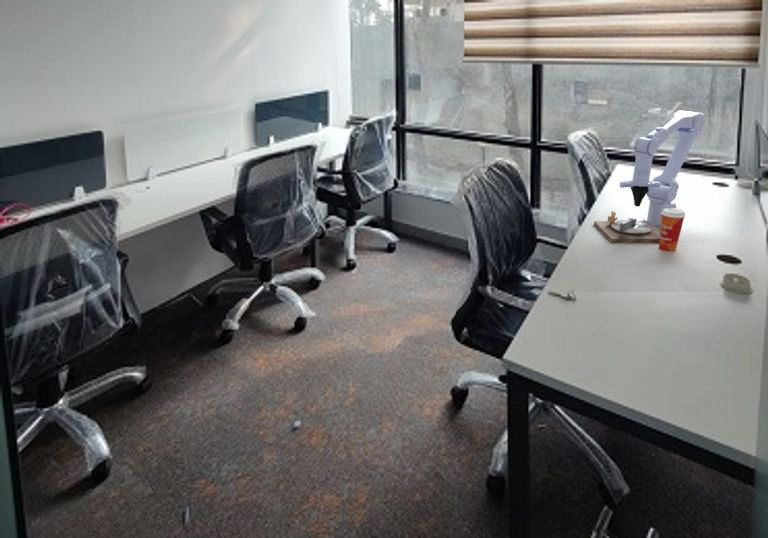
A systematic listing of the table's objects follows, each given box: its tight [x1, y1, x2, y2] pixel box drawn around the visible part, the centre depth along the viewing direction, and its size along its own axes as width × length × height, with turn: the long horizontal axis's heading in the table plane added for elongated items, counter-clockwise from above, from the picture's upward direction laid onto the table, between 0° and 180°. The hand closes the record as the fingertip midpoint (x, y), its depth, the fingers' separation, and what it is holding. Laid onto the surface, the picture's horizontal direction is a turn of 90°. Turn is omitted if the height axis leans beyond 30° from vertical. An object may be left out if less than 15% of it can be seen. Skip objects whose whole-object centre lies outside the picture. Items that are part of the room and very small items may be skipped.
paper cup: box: [658, 207, 686, 253], centre depth 214 cm, size 8×8×14 cm
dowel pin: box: [610, 210, 617, 225], centre depth 237 cm, size 2×2×5 cm
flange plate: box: [607, 215, 651, 234], centre depth 231 cm, size 16×16×4 cm
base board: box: [593, 220, 660, 244], centre depth 232 cm, size 21×21×2 cm
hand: (636, 205), depth 234 cm, fingers closed
